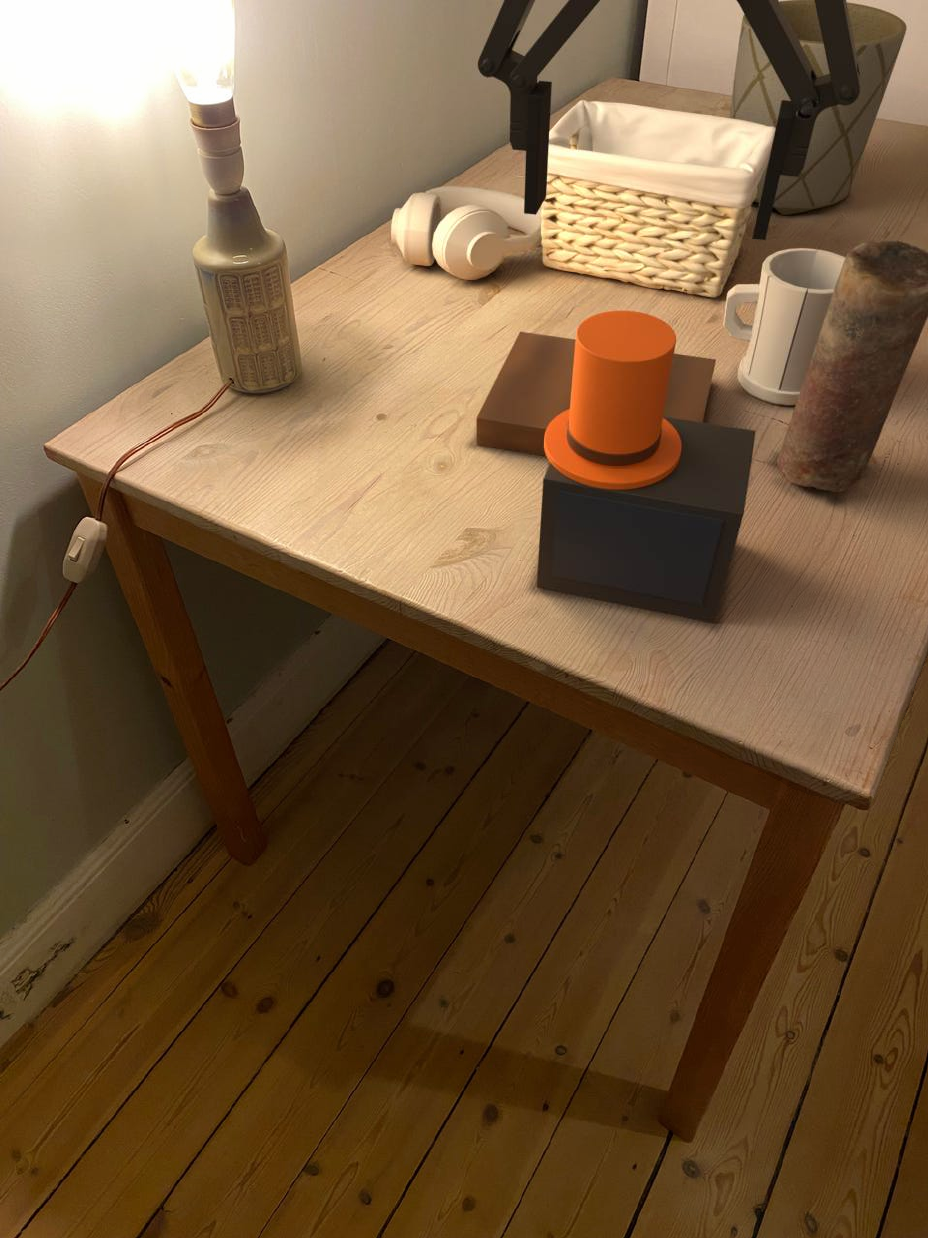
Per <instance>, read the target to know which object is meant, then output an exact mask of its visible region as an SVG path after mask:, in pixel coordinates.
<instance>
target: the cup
mask: <svg viewBox="0 0 928 1238" xmlns="http://www.w3.org/2000/svg"><path fill="white" fill-rule="evenodd" d="M845 258H846V256H843V255H840V254H837V253H835V252H833V251H827V250H823V249H817V248H806V247H805V248H804V247H797V248H788V249H787V248H786V249H783V250H779V251H776V252H774V253H772V254H770V255H768V256H766V257H765V260H764V261H763V262H762V267H761V273H760V280H759V283H748V284H747V283H739V284H738V283H737V284H735V285H734V286H733V287H732V288H730V290H728V291H727V293H726V301H725V308H724V315H723V322H722V324H723V328H724V330H725V331H726V332H727V333H728V335H729V336H730V337H731V338H734V339H737V340H741V341H747V342H748V346H747V350H746V354H744V356H743V357H742V358H741V360H740V361H739V364H738V369H737V380H738V382H739V384H740V386H741V387H742V388H743V390H745V391H746V392H747V393H748V394H749V395H751V396H752V397H754V398H756V399H758V400H760V401H762V402H766V403H769V404H772V405H778V406H787V407H789V406H796V403H797V401H798V397H799V394H800V391H801V389H802V386H803V383H804V380H805V377H806V374H807V371H808V368H809V365H810V362H811V358H812V355H813V352H814V349H815V346H816V344H817V341H818V338H819V335H820V332H821V328H822V325H823V322H824V319H825V317H826V314H827V311H828V307H829V304H830V301H831V298H832V295H833V292H834V289H835V285H836V283H837V280H838V278H839V275H840V272H841V269H842V265H843V263H844V260H845ZM744 303H745V304H746V303H748V304H749V303H751V304H752V303H754V304H755V303H756V304H755V305H756V306H755V311H754V317H753V322H752V324H747V323H744V322H743V320H742V319H741V317H740V315H739V314H738V313H737V308H738V307H739V306H740V305H741V304H744Z"/></svg>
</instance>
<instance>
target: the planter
mask: <svg viewBox="0 0 928 1238" xmlns="http://www.w3.org/2000/svg"><path fill="white" fill-rule="evenodd" d="M778 1H779V3H780V5H781V7H782V8H783V10H784V12H785V14H786V16H787V18H788V20H789V22H790V24H791V26H792V28H793V30H794V32H795V34H796V36H797V37H798V39H799V41H800V43H801V45H802V47H803V49H804V51H805V53H806V55H807V57H808V59H809V61H810V63H811V65H812V66H813V68H814V70H815V72H816V74H817V76H818V77H820V76H823V75H827V74H830V72H829V67H828V63H827V58H826V53H825V48H824V44H823V39H822V34H821V29H820V24H819V20H818V15H817V10H816V5H815V0H781V1H780V0H778ZM846 2H847V7H848V12H849V17H850V22H851V28H852V33H853V38H854V43H855V49H856V54H857V59H858V64H859V70H860V94H859V96H858V98H857V99H856V101H855V102H853V103H852V104H850V105H846V106H844V105H840V104H839V105H836V106H832V107H829V108H826V109H824V110H823V111H822V112H821V113H820V114H819V115H818V116H817V118H816V121H815V124H814V128H813V132H812V136H811V140H810V144H809V148H808V152H807V156H806V161H805V165H804V168H803V170H802V171H801V173H800V174H799V176H798V177H794V176H784V175H780V178H779V182H778V187H777V191H776V196H775V200H774V204H773V208H774V209H775V210H776V211H777V213H778V214H779V215H781V216H789V215H794V214H795V215H796V214H800V213H803V212H804V213H805V212H808V211H814V210H818V209H822V208H825V207H829V206H832V205H835V204H838V203H840V202H841V201H843V200H845V199H846V198H847V197H848V196H849V193H850V191H851V189H852V186H853V184H854V181H855V179H856V176H857V172H858V170H859V166H860V163H861V161H862V158H863V155H864V152H865V150H866V147H867V143H868V140H869V138H870V136H871V133H872V130H873V127H874V124H875V121H876V119H877V116H878V113H879V110H880V108H881V105H882V103H883V100H884V97H885V94H886V91H887V88H888V86H889V83H890V80H891V77H892V74H893V72H894V68H895V65H896V63H897V59H898V57H899V53H900V52H901V48H902V46H903V45H902V44H903V42H904V39H905V36H906V33H907V24H906V23H905V21H904V20H903V19H902V18H900V17H899V16H897V15H895V14H894V13H892V12H890V11H886V10H883V9H881V8H877V7H874V6H869V5H864V4H860V3H854V2H848V1H846ZM738 39H739V40H738V47H737V48H738V49H737V54H736V61H735V69H734V78H733V85H732V94H731V103H730V108H729V109H730V111H729V117H728V118H732V119H738V120H744V121H749V122H753V123H758V124H762V125H765V126H768V127H775V128H776V124H777V119H778V115H779V110H780V106H781V101H782V100H787V101H791V100H790V98H789V96H788V94H787V92H786V91H785V89H784V87H783V85H782V83H781V81H780V79H779V78H778V76H777V74H776V72H775V70H774V68H773V66H772V65H771V63H770V61H769V59H768V57H767V55H766V53H765V52H764V50H763V48H762V46H761V44H760V42H759V40H758V39H757V37H756V35H755V33H754V31H753V29H752V27H751V25H750V24H749V22H748V20H747V18H746V16H745V14H744V13H743V16H742V19H741V25H740V33H739V38H738ZM767 165H768V164H767ZM766 170H767V166H766V168H765V170H764V172H763V174H762V177H761V179H760V181H759V184H758V185H757V194H756V198H755V200H754V201H753V203H758V204H759V202H760V198H761V193H762V189H763V184H764V179H765V175H766Z"/></svg>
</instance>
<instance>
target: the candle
mask: <svg viewBox="0 0 928 1238" xmlns="http://www.w3.org/2000/svg"><path fill="white" fill-rule="evenodd" d="M927 321H928V251H927V250H925V249H921V248H920V247H917V246H915V245H911V244H909V243H907V242H903V241H900V240H878V241H875V240H870V241H866V242H862V243H861V244H858V245H857V246H855V247H854V248H853V249H852V250H850V251H849V252H848V253H847V254H846V255H845V260H844V263H843V265H842V269H841V272H840V275H839V278H838V280H837V283H836V285H835V289H834V292H833V295H832V298H831V301H830V304H829V307H828V311H827V314H826V317H825V319H824V322H823V325H822V328H821V332H820V335H819V338H818V341H817V344H816V346H815V349H814V352H813V355H812V358H811V362H810V365H809V368H808V371H807V374H806V377H805V380H804V383H803V386H802V389H801V391H800V394H799V397H798V401H797V403H796V405H794V408H793V412H792V415H791V419H790V421H789V424H788V426H787V429H786V433H785V436H784V439H783V442H782V444H781V448H780V452H779V455H778V457H777V460H776V463H777V466H778V469H779V472H780V474H781V476H782V477H783V478H785V479H786V480H788V481H789V482H790V483H792V484H793V483H794V484H797V485H798V486H801V487H808V488H809V487H813V488H815V489H816V490H817V491H826V492H829V493H831V492H833V493H840V492H844V491H846V490H850V489H852V488H854V486H856V484H858V483H859V482H860V481H861V480H862V478H863V477H864V475H865V473H866V470H867V467H868V465H869V462H870V460H871V459H872V458H871V457H872V456H873V453H874V450H875V448H876V447H877V443H878V441H879V439H880V436H881V433H882V431H883V428H884V426H885V424H886V421H887V419H888V416H889V414H890V411H891V408H892V406H893V404H894V401H895V398H896V396H897V393H898V391H899V389H900V386H901V383H902V381H903V379H904V375H905V373H906V371H907V369H908V367H909V364H910V361H911V358H912V357H913V354H914V352H915V349H916V347H917V345H918V343H919V340H920V337H921V334H922V332H923V329H924V327H925V324H926V322H927Z"/></svg>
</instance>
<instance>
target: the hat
mask: <svg viewBox="0 0 928 1238" xmlns="http://www.w3.org/2000/svg"><path fill="white" fill-rule="evenodd" d="M575 339H576V342H575V354H574V366H573V378H572V390H571V402H570V409H568V410H566V411H564V412H562V413H561V414H560V415H558V416H557V417H556V418H555V419H553V420H552V422H551V423H550V424H549V426H548V427H547V429H546V432H545V437H544V450H545V453H546V456H545V457H547V460H548V461H549V463H551V464H552V465H553V466H554V467H555V468H556V469H557V470H558V471H559V472H561V473H562V474H563V475H565V476H566V477H568V478H570V479H572V480H574V481H577V482H579V483H582V484H585V485H588V486H592V487H596V488H602V489H613V490H624V489H634V488H640V487H644V486H647V485H651V484H653V483H656V482H658V481H660V480H662V479H663V478H665V477H666V476H668V475H669V474H670V473H671V472H672V471H673V470H674V469H675V467H676V466H677V464H678V462H679V459H680V455H681V449H682V445H681V440H680V436H679V434H678V433H677V431H676V429H675V428H674V427H673V426H672V425H671V424H670V423H669V422H668V421H667V420H665V419H664V418H663V414H664V408H665V402H666V397H667V391H668V385H669V379H670V373H671V368H672V362H673V356H674V354H675V350H676V344H677V336H676V333H675V331H674V329H673V328H672V327H671V325H670V324H669V323H667V322H666V321H664V320H663V319H661V318H659V317H656V316H655V315H652V314H649V313H644V312H640V311H634V310H633V311H632V310H609V311H603V312H599V313H596V314H594V315H593V314H592V315H591V316H589V317H587V318H585V319H584V320H583V321H582V322H581V323H580V324H579V325H578V327H577V328H576V333H575Z"/></svg>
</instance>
